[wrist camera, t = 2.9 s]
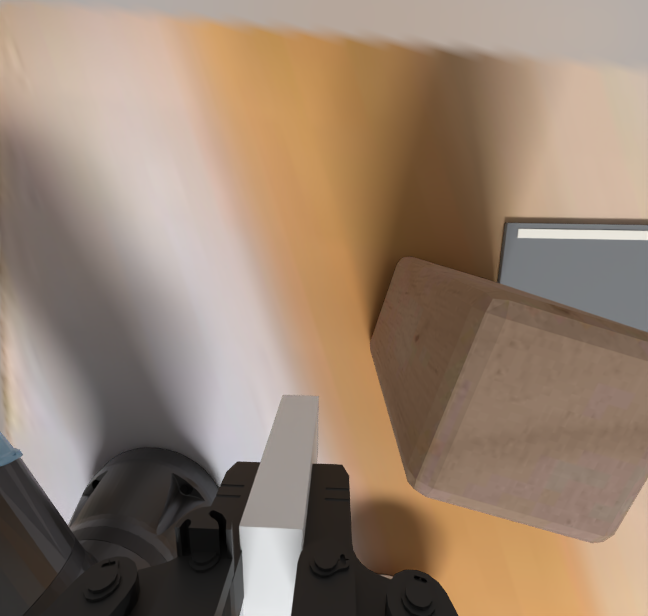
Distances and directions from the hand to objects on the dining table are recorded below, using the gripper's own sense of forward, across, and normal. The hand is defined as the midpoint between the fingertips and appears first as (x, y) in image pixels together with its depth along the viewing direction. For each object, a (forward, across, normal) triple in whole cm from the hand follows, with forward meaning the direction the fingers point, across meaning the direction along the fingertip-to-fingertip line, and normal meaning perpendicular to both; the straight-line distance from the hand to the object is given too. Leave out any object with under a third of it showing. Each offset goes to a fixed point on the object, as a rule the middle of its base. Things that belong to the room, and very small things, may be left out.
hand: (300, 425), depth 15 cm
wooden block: (+20, +11, 0) cm, 23 cm away
